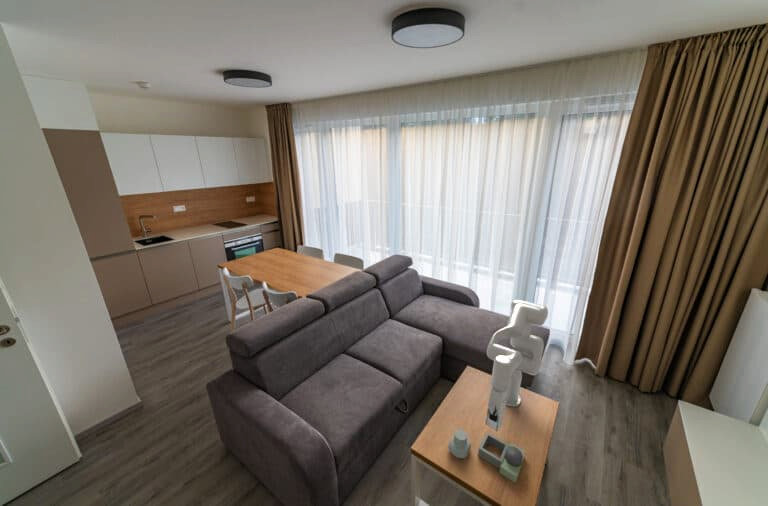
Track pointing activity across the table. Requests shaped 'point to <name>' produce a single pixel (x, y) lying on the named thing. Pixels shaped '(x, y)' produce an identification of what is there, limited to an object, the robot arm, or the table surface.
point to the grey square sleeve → (503, 456)
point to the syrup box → (500, 416)
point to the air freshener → (459, 444)
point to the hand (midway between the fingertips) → (495, 414)
